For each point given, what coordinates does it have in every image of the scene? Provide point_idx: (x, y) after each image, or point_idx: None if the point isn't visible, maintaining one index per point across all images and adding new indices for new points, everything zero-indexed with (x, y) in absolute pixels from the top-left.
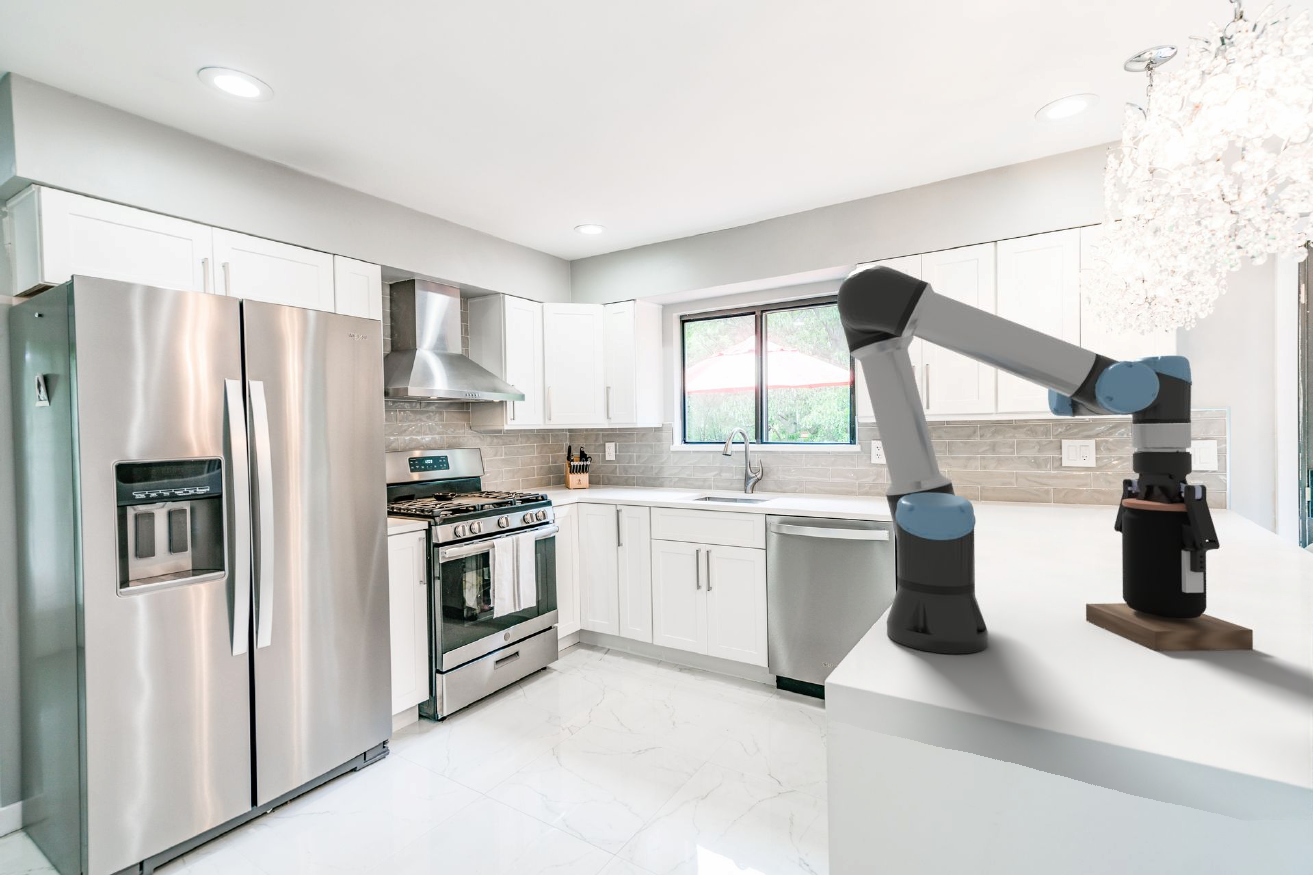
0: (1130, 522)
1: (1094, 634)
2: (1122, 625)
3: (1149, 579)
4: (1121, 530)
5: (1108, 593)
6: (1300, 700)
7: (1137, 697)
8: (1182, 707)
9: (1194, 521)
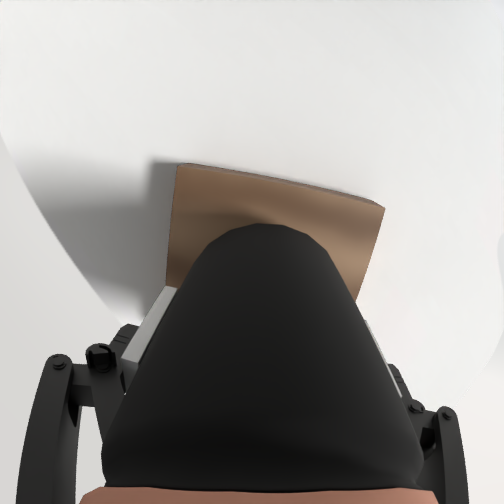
0: (311, 389)
1: (297, 135)
2: (271, 179)
3: (225, 254)
4: (432, 417)
5: (443, 369)
6: (28, 188)
7: (69, 7)
8: (41, 38)
9: (35, 435)
